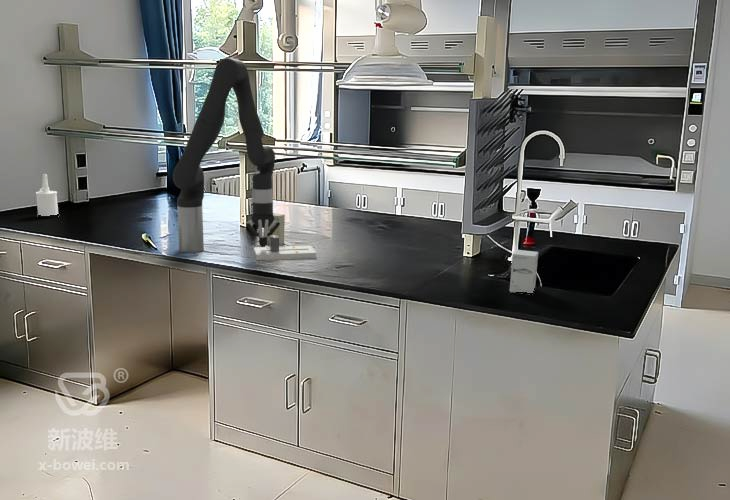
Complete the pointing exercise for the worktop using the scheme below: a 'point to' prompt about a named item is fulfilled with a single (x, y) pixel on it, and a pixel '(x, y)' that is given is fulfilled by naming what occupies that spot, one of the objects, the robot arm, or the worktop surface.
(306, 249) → the fader console
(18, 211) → the worktop surface
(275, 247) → the fader cap
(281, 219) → the skincare box
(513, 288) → the supplement box
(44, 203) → the white nozzle bottle
